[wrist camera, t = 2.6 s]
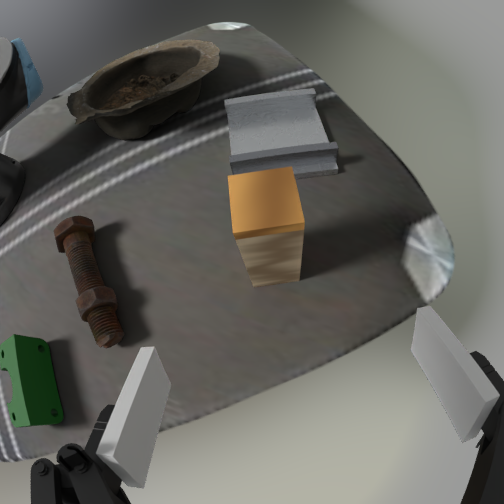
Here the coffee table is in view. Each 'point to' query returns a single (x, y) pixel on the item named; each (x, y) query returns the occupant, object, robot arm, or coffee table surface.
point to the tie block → (268, 224)
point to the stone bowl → (144, 87)
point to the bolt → (89, 280)
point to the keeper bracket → (279, 134)
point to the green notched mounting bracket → (31, 382)
